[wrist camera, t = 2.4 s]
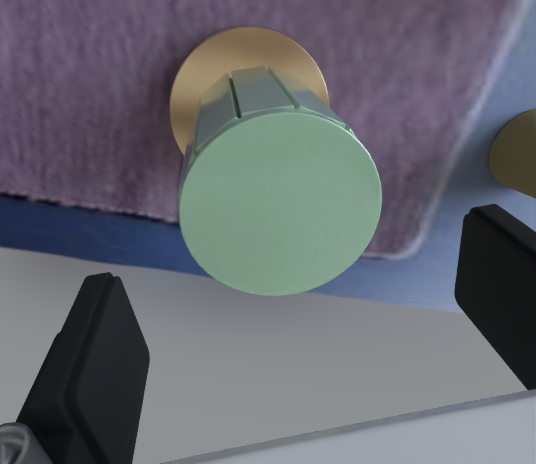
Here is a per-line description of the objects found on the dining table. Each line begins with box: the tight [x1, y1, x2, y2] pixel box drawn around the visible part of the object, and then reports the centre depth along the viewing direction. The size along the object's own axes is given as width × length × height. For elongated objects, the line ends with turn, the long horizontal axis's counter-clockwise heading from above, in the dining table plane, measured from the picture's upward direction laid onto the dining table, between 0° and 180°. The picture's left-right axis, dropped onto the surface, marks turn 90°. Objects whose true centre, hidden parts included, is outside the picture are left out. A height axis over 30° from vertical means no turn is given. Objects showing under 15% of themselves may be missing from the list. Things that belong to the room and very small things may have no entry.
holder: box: [169, 26, 329, 156], centre depth 20 cm, size 10×10×14 cm
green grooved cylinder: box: [177, 66, 382, 296], centre depth 18 cm, size 7×7×9 cm
